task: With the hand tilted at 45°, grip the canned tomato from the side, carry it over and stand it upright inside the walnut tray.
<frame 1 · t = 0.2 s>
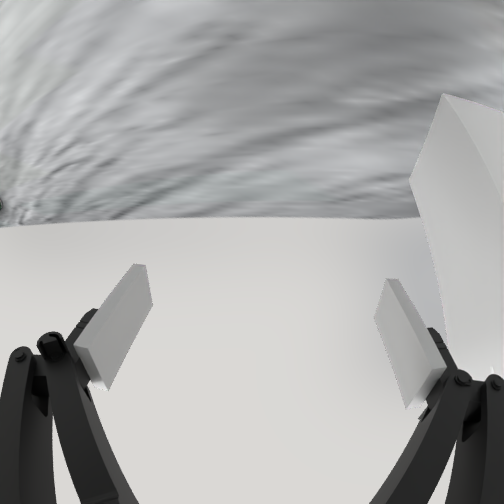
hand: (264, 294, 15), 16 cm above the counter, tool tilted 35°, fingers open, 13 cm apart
milk: (471, 149, 22), on the counter
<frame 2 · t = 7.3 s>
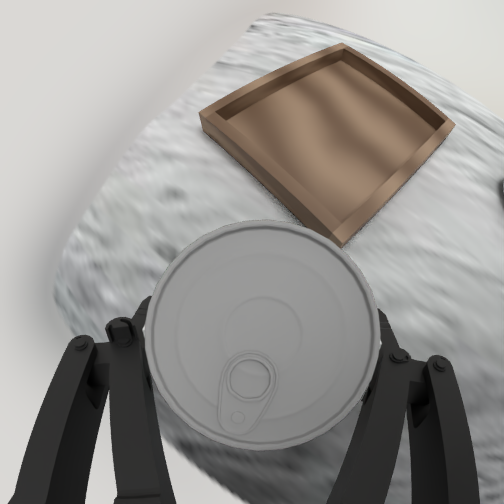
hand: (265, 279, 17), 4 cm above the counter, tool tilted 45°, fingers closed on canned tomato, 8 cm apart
canned tomato: (261, 340, 20), on the counter, touching gripper
walnut tray: (340, 126, 25), on the counter
when the fingers open (6 cm above the counter, at t = 12.7 s): canned tomato drops 1 cm, resting on walnut tray.
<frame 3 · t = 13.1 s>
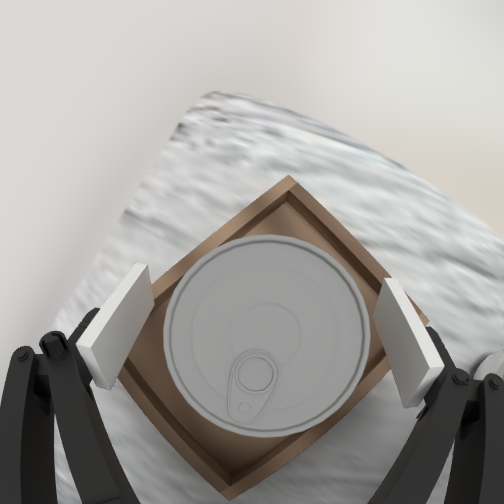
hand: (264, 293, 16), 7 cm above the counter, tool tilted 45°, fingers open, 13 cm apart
canned tomato: (264, 341, 21), resting on walnut tray
walnut tray: (261, 340, 21), on the counter
plastic bottle: (483, 383, 19), on the counter
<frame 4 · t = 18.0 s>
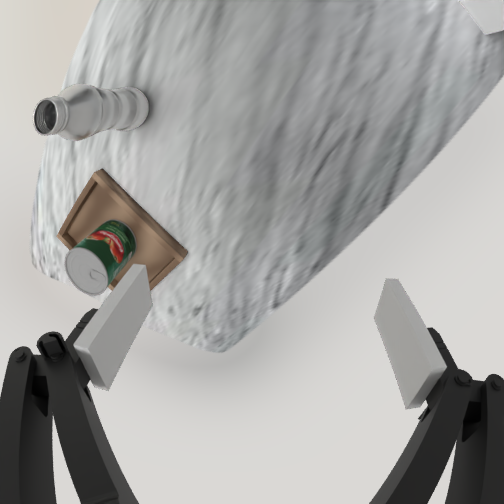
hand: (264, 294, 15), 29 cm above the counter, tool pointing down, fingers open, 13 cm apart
canned tomato: (117, 240, 47), resting on walnut tray
walnut tray: (118, 240, 47), on the counter
plastic bottle: (134, 108, 37), on the counter
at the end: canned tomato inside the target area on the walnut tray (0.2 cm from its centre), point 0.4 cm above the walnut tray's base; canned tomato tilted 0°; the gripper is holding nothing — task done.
